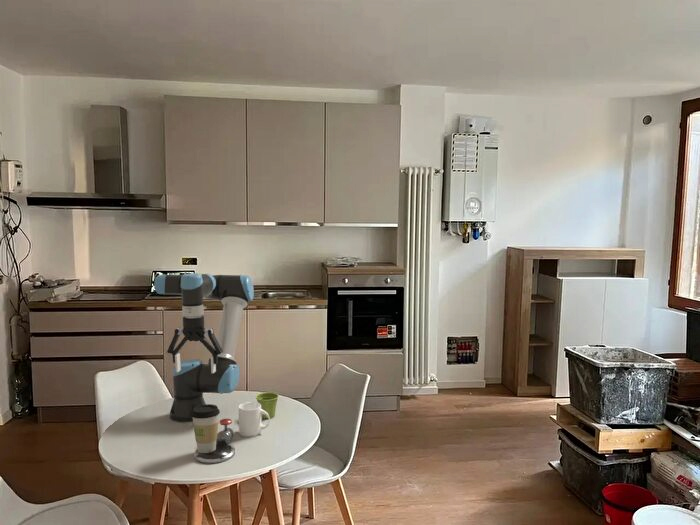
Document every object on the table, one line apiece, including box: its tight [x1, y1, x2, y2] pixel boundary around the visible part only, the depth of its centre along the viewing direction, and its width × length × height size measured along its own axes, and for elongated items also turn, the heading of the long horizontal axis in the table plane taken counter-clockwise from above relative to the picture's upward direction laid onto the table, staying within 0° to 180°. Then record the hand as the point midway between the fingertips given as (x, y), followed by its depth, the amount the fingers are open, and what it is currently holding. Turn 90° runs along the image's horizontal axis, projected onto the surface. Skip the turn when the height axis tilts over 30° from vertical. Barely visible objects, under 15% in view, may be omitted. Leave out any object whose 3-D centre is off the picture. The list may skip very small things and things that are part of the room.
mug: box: [238, 401, 271, 438], centre depth 206 cm, size 9×12×11 cm
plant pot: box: [255, 392, 279, 419], centre depth 223 cm, size 9×9×9 cm
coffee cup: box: [191, 403, 220, 453], centre depth 189 cm, size 10×10×15 cm
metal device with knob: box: [193, 418, 236, 465], centre depth 191 cm, size 20×14×9 cm
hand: (195, 371), depth 198 cm, fingers open, 13 cm apart
